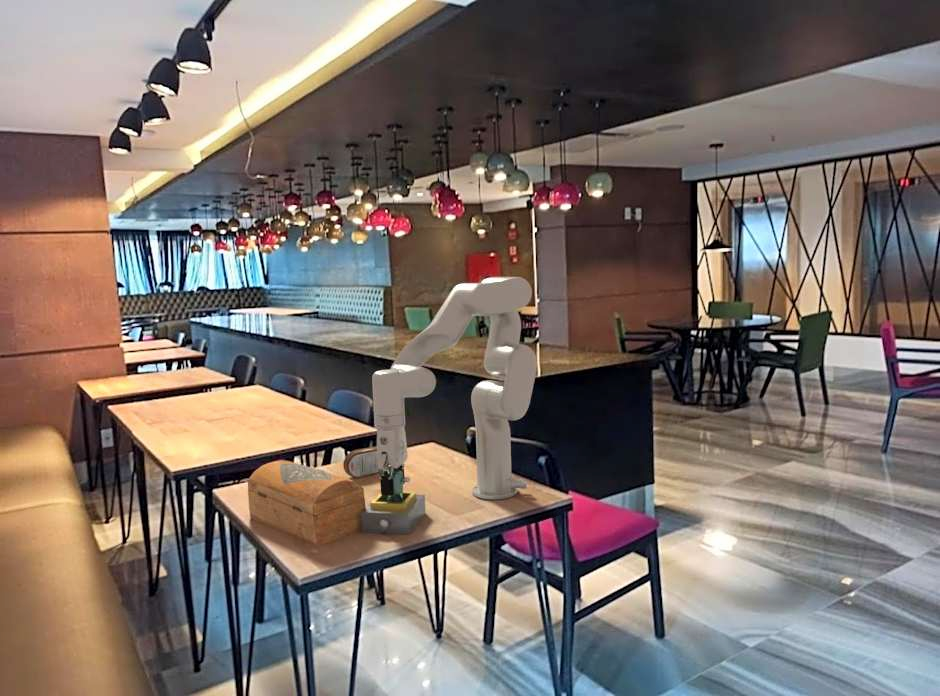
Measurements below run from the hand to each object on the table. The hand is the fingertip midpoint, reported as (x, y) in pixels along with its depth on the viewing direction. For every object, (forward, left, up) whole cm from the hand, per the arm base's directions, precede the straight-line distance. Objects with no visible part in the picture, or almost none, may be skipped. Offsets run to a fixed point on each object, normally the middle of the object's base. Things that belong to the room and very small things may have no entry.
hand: (393, 488), depth 171 cm
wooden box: (+22, +2, -9) cm, 24 cm away
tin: (+21, -37, -9) cm, 43 cm away
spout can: (0, 0, -4) cm, 4 cm away
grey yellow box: (0, 0, -9) cm, 9 cm away
